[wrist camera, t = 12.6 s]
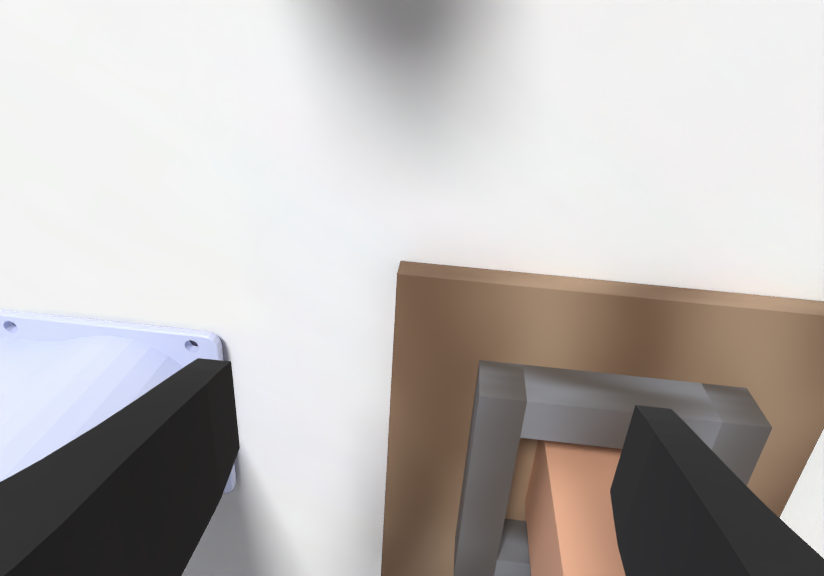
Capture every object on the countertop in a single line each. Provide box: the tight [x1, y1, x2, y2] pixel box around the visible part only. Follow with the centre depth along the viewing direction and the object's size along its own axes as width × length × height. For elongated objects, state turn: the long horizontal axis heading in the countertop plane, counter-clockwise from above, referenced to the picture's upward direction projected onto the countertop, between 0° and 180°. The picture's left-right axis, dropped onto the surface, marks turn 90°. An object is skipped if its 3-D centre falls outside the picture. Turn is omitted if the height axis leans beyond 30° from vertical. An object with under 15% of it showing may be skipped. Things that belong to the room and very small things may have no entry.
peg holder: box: [381, 261, 824, 576], centre depth 22 cm, size 15×15×3 cm
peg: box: [525, 440, 626, 576], centre depth 19 cm, size 4×4×8 cm
